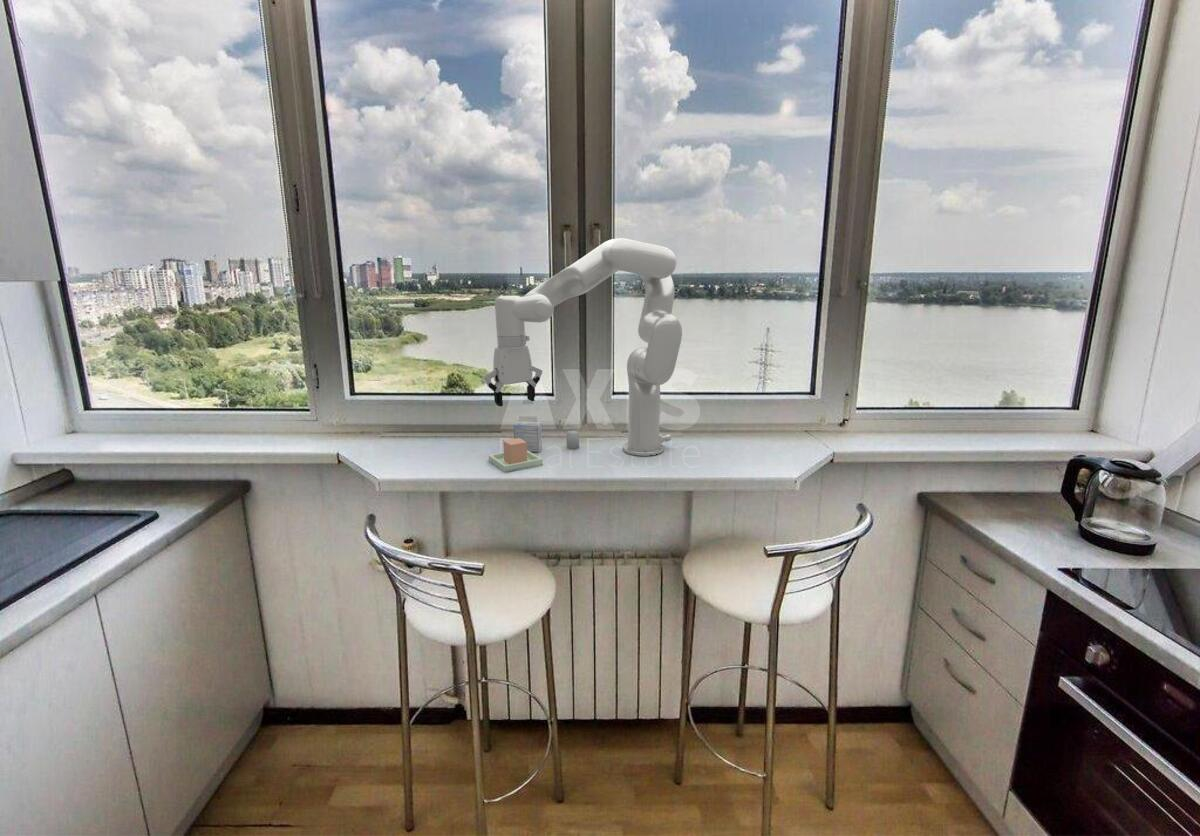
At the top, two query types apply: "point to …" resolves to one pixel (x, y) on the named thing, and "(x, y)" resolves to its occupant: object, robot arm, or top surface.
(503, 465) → the tray
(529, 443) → the medicine box
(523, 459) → the terracotta block
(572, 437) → the grey tub
